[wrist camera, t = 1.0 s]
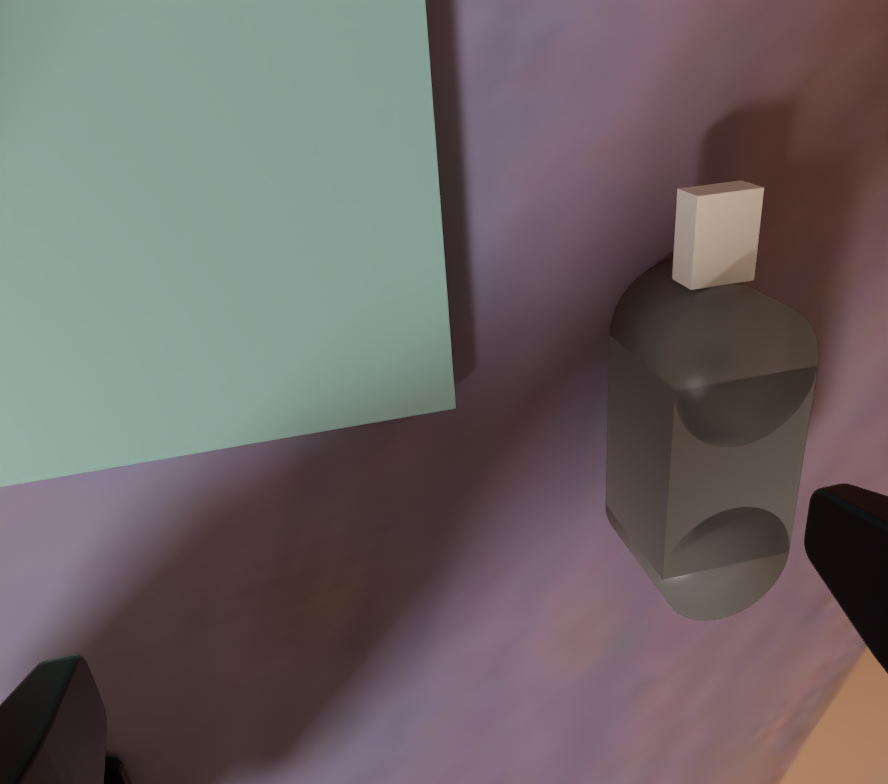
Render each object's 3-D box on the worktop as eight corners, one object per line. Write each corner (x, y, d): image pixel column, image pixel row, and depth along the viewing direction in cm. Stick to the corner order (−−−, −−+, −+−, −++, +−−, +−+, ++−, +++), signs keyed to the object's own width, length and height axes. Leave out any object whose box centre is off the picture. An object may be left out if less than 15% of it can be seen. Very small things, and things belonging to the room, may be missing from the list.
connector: (711, 529, 27) (780, 604, 23) (604, 551, 26) (659, 633, 23) (746, 166, 21) (844, 193, 18) (612, 183, 21) (686, 214, 17)
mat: (447, 393, 22) (455, 408, 21) (3, 468, 20) (-8, 488, 19) (390, -331, 15) (398, -354, 14) (-302, -330, 13) (-342, -355, 12)
